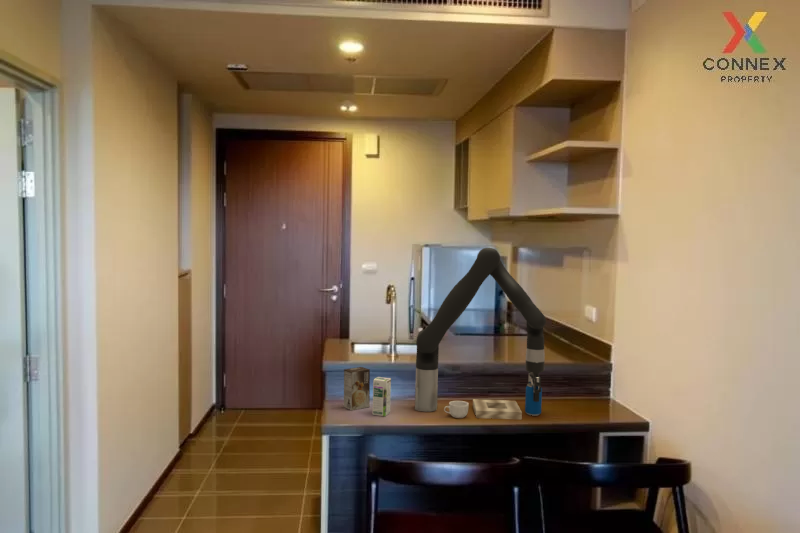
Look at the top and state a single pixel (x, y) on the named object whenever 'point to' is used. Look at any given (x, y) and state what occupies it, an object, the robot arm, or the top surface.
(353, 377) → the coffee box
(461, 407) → the teacup
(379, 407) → the syrup box
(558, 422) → the top surface
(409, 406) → the top surface
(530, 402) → the beverage can
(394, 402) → the top surface
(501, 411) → the holder plate
